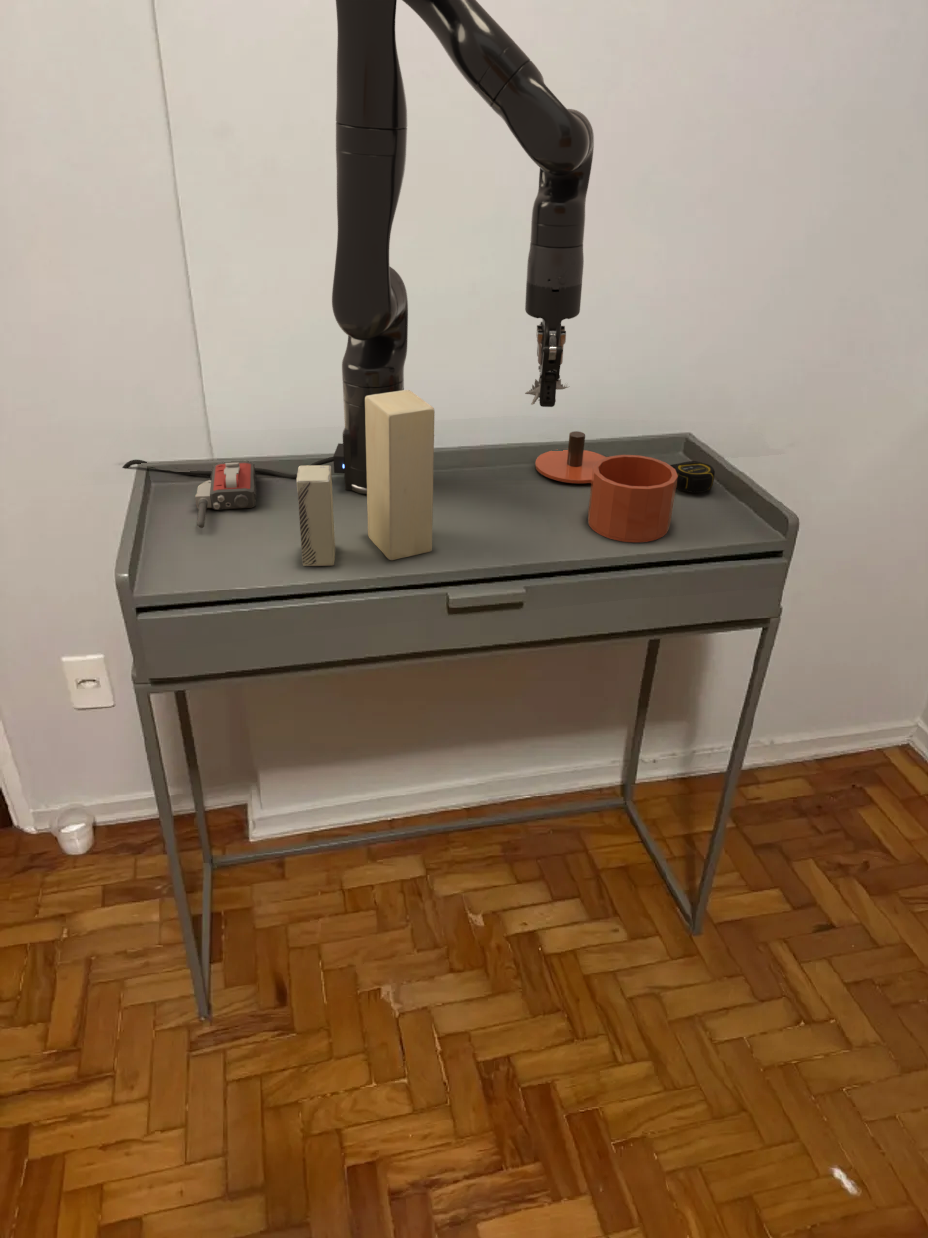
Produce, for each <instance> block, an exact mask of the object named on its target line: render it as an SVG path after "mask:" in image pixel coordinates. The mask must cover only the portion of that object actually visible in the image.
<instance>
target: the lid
mask: <svg viewBox="0 0 928 1238" xmlns="http://www.w3.org/2000/svg"><path fill="white" fill-rule="evenodd" d="M585 443H586V433H584V432H583V431H579V430H577V431H576V430H575V431H571V432H569V434H568V445H567V449H568V450H563V451H552V450H549V451H546V452H544V453H541V454H540V455H538V456H537V458H536V459H535V462H534V463H535V464H534V466H535V469H536V471H537V473H539V474H541V476H544V477H546V478H547V479H551V480H554V481H558V482H562V483H567V484H591V480H592V471H593V466H594V465H595V464H596V462H597V461H598V460H601V459H604V458H606V457H607V456H605V455H603V454H600V453H598V452H594V451H590V450H587V449H586V450H585Z"/></svg>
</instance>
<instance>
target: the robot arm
mask: <svg viewBox="0 0 928 1238" xmlns="http://www.w3.org/2000/svg"><path fill="white" fill-rule="evenodd" d="M401 1H402V2H403V3H404V4H406V5H407V6H408V7H409V8H410V9H411V10H412V11H413V12H415V14H416V15H418V17H419V18H420V19H421V20H422V21H423V22H424V23H425V25H426V26H427V27H428V28H429V30H430V31H431V32H432V33H433V35H434V36H435V38H436V39H437V40H438V42H439V43H440V45H441V46H442V48H443V49H444V51H445V53H446V54H447V56H448V57H449V59H450V60H451V62H452V64H453V65H454V67H455V68H456V69H457V71H458V72H459V73H460V74H461V76H462V77H463V78H464V79H465V81H466V82H467V84H469V86H471V88H472V89H473V90H474V91H475V92H476V94H478V95H479V97H480V98H481V99H482V100H483V101H484V102H485V103H486V104H487V105H488V106H489V107H490V108H491V109H492V111H493V112H494V113H495V114H496V115H498V116H499V117H500V118H501V120H503V122H504V123H505V125H506V126H507V128H508V129H509V131H510V132H511V134H512V135H513V137H514V138H515V139H516V141H517V142H518V144H519V145H520V147H521V148H522V149H523V151H524V152H525V153H526V155H527V156H528V157H529V158H530V159H531V161H533V163H534V164H536V166H538V167H539V172H538V189H537V194H536V196H535V198H534V201H533V204H532V209H531V221H530V237H529V239H530V240H529V241H530V242H529V250H528V255H527V263H526V282H525V283H526V284H525V286H526V287H525V288H526V289H525V303H524V304H525V305H524V311H525V313H526V314H527V315H528V316H530V317H532V318H534V319H541V321H540V322H539V324H536V331H535V333H536V342H537V343H536V344H537V345H536V357H537V364H538V369H537V370H538V372H539V377H538V380H539V379H540V381H541V385H540V396H539V398H538V399H540V401H538V402H539V406H540V407H542V408H553V407H555V405H556V402H555V399H556V397H557V395H556V394H557V389H556V383H557V382H558V381H559V380H560V379H561V375H560V374H561V373H560V371H561V366H562V364H563V360H564V345H565V344H566V340H567V331H566V325H562V322H563V321H564V320H571V319H574V318H576V317H577V316H578V315H579V314H580V312H581V302H582V301H581V300H582V289H583V275H584V262H585V261H584V258H585V257H584V239H585V238H584V237H585V226H586V203H587V195H588V189H589V184H590V179H591V178H590V177H591V172H592V166H593V165H592V164H593V159H594V148H595V134H594V129H593V126H592V124H591V121H590V120H589V118H588V117H587V116H586V115H585V114H584V113H583V112H581V111H579V110H577V109H573V108H567V107H566V106H565V105H564V104H563V103H562V102H561V101H560V100H559V99H558V97H557V96H556V95H555V94H554V93H553V91H551V89H550V88H549V87H548V86H547V84H546V83H545V80H544V77H543V74H542V72H541V71H540V70H539V68H538V67H537V65H536V64H535V63H534V62H533V61H532V60H531V58H530V57H529V55H527V54H526V52H524V51H523V50H522V48H521V47H520V46H519V45H518V44H517V43H516V42H515V40H514V39H513V38H511V36H510V35H509V34H508V33H507V32H506V31H505V30H504V29H503V27H501V26H500V24H499V23H498V22H497V21H496V20H495V19H494V18H493V17H492V16H491V15H490V13H488V12H487V11H486V9H485V8H484V7H483V6H482V5H481V4H480V3H479V2H478V1H477V0H401ZM397 2H398V0H335V8H336V9H335V10H336V24H337V25H336V26H337V29H336V30H337V39H336V40H337V42H336V43H337V45H336V46H337V47H336V103H335V107H336V108H335V164H336V165H335V166H336V167H335V169H336V216H337V218H336V219H337V235H336V236H337V238H336V239H337V240H336V251H335V261H334V273H333V280H332V281H333V282H332V291H331V308H332V313H333V316H334V318H335V322H336V324H337V325H338V326H339V328H340V329H341V330H342V332H343V333H344V334H346V335H347V342H346V348H345V351H344V355H343V357H342V361H341V378H342V380H341V381H342V398H343V399H342V400H343V420H344V421H343V422H344V428H343V431H342V443H339V442H338V443H337V446H336V447H335V448H336V449H335V451H334V453H333V456H330V457H326V458H322V459H320V460H317V461H315V462H313V463H311V464H309V466H317V465H327V464H329V463H333V472H334V474H344V490H346V491H353V492H356V493H357V494H361V495H367V467H366V426H365V397H366V396H369V395H374V394H382V393H388V392H395V391H402V390H405V363H406V360H407V355H408V343H409V342H408V340H409V339H408V337H409V334H408V333H409V300H408V299H409V298H408V293H407V287H406V284H405V282H404V280H403V278H402V277H401V275H400V273H398V272H397V271H396V269H395V268H393V267H392V266H390V243H391V234H392V228H393V223H394V219H395V216H396V211H397V207H398V203H399V200H400V196H401V191H402V187H403V183H404V177H405V171H406V162H407V147H408V146H407V145H408V107H407V106H408V105H407V98H406V90H405V84H404V79H403V73H402V69H401V64H400V59H399V54H398V48H397V37H396V36H397V35H396V16H397ZM548 371H549V372H548ZM550 371H551V372H550ZM147 462H148V461H146V460H142V459H131V460H128V461H127V462H126V463H125V464H123V466H122V469H128V468H130V467H131V466H134V465H139V464H141V463H147ZM176 473H177V474H183V475H191V476H203V477H204V476H207V477H211V470H197V471H190V472H176ZM255 474H265V475H269V476H274V477H277V478H278V477H279V478H283V479H284V478H285V479H291V480H297V473H295V474H294V473H292V474H291V473H290V474H289V473H285V472H280V471H276V470H272V469H267V468H261V467H260V468H259V467H255Z"/></svg>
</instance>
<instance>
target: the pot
mask: <svg viewBox="0 0 928 1238" xmlns="http://www.w3.org/2000/svg"><path fill="white" fill-rule="evenodd" d="M605 457H606V458H604V459H601V460H598V461H597V462H596V464H595V465H594V466H593V471H592V480H591V483H590V491H589V500H588V508H587V509H588V510H587V523H588V526H589V528H591V530H593V531H594V532H595V533H597V534H598V535H600V536H602V537H604V538H608V539H610V540H614V541H618V542H623V543H624V542H625V543H648V542H653V541H656V540H659V539H661V538H663V537H664V536H665V535H667V533H668V532H669V530H670V526H671V522H672V515H673V509H674V503H675V496H676V490H677V488H676V485H677V479H678V475H677V473H676V470H675V469H674V468H673V467H671V466H670V465H671V464H669V463H667V462H665V461H663V460H660V459H657V458H655V457H650V456H646V455H645V456H644V455H640V454H639V455H638V454H617V455H610V456H605Z"/></svg>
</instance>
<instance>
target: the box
mask: <svg viewBox="0 0 928 1238" xmlns="http://www.w3.org/2000/svg"><path fill="white" fill-rule="evenodd" d="M296 474H297V479H296V489H297V490H296V491H297V502H298V516H299V518H298V519H299V533H300V549H301V562H302V566H303V567H321V566H323V567H324V566H325V567H326V566H327V567H329V566H334V565H335V559H336V540H335V539H336V538H335V521H334V517H335V516H334V500H333V498H334V497H333V482H332V466H331V465H327V464H322V465H317V466H310V465H299V466H298V468H297V473H296Z"/></svg>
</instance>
